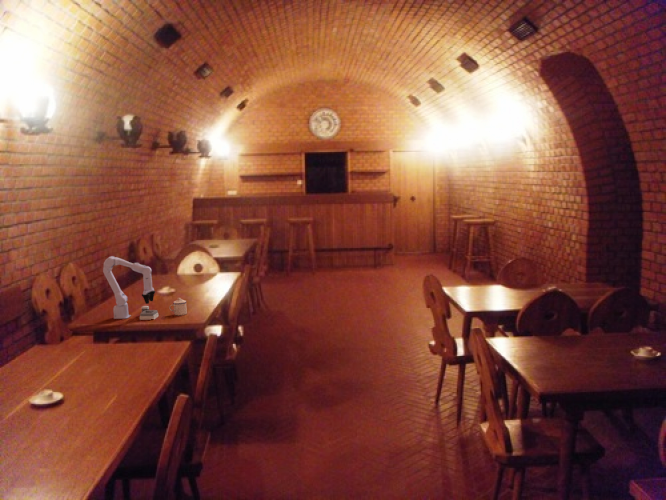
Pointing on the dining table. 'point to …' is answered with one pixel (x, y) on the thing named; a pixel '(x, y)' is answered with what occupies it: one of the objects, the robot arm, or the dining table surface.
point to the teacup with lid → (179, 307)
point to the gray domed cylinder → (145, 308)
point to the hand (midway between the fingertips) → (149, 302)
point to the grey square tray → (148, 315)
